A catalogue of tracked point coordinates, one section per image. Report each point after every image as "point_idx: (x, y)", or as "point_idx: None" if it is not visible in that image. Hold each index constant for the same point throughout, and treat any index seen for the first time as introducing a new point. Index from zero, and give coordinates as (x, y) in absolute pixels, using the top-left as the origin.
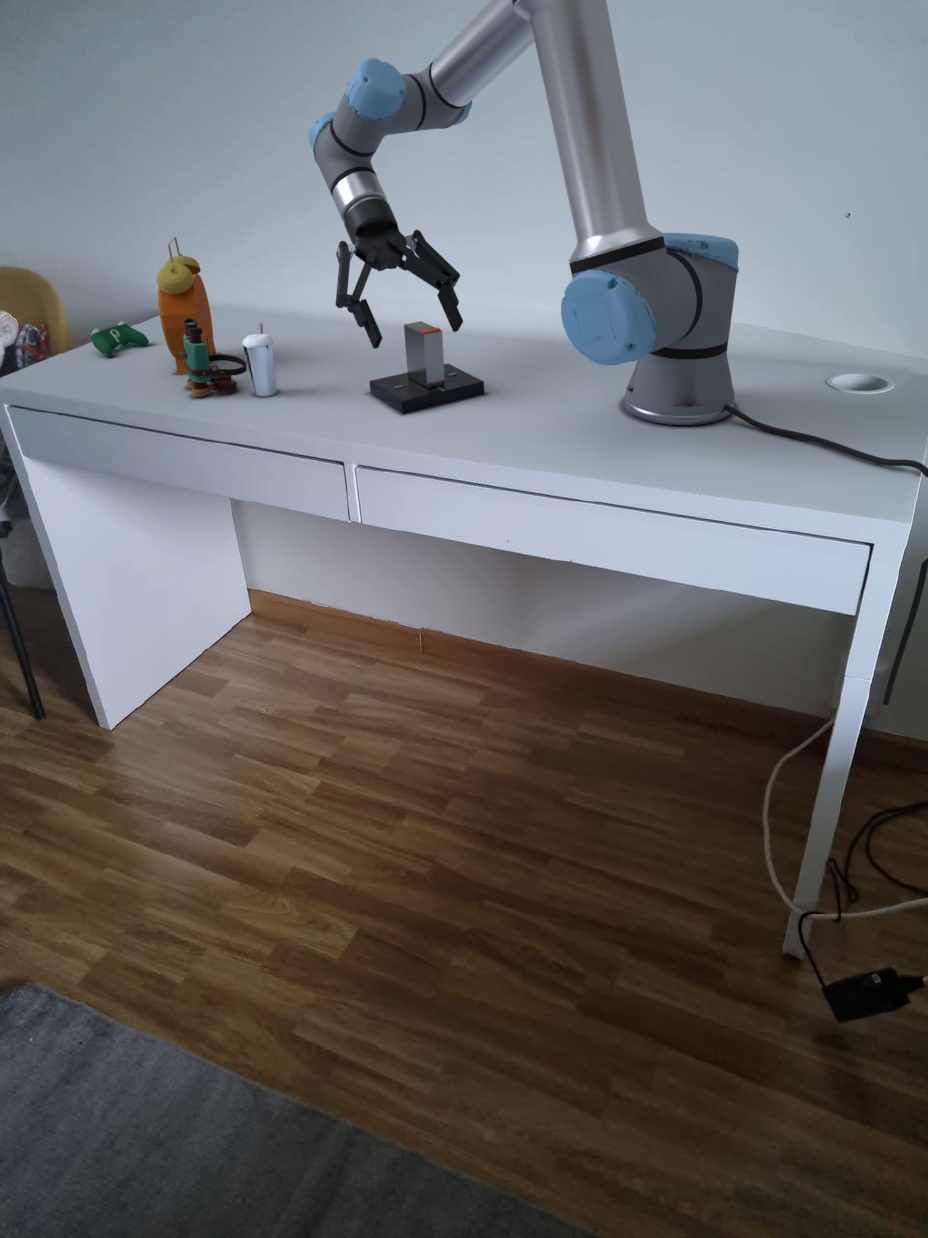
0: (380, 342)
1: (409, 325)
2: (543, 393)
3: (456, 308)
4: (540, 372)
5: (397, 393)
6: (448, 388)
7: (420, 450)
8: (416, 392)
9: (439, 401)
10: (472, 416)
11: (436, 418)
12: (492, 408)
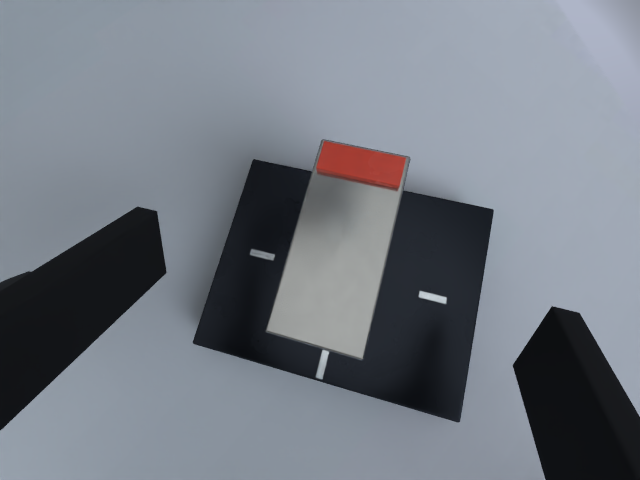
0: (533, 334)
1: (357, 320)
2: (184, 89)
3: (91, 240)
4: (75, 179)
5: (466, 262)
6: None
7: (575, 48)
8: (424, 227)
9: None
10: (376, 101)
11: (439, 145)
12: (315, 103)
